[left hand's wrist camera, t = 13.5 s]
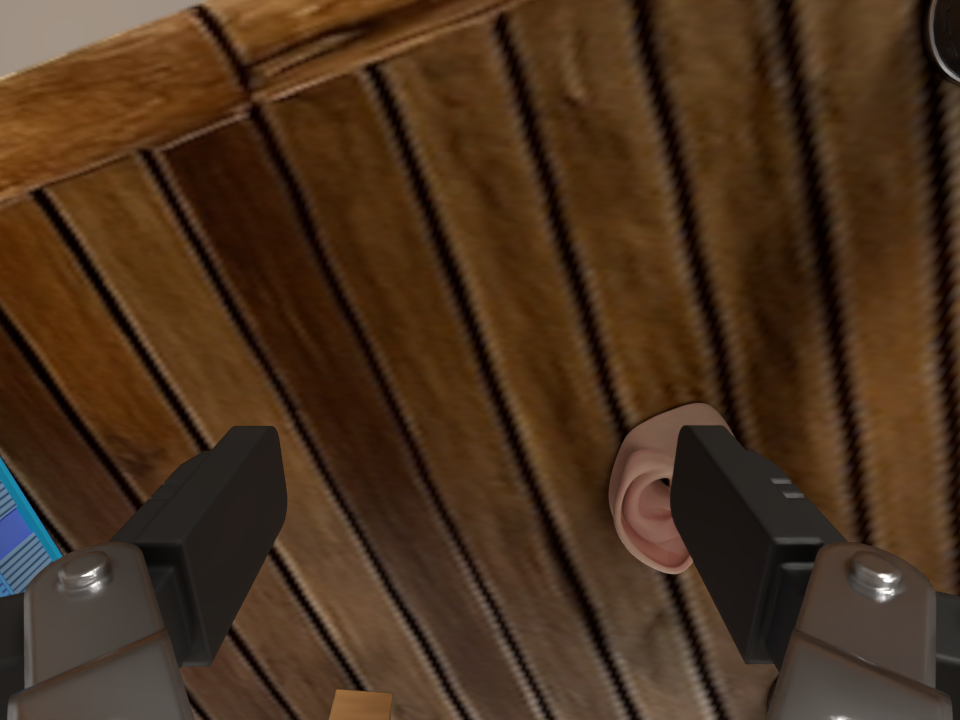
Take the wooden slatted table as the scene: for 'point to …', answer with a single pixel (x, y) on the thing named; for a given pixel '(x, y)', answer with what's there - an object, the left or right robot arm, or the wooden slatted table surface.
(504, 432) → the wooden slatted table surface
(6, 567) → the model building
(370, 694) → the bar
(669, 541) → the anatomical model
